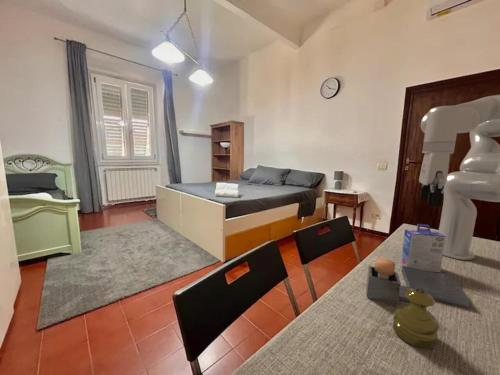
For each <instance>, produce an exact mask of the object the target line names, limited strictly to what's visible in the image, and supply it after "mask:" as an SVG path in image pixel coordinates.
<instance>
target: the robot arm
mask: <svg viewBox="0 0 500 375" xmlns="http://www.w3.org/2000/svg"><path fill="white" fill-rule="evenodd" d="M420 128H421V131H422V132H423V133H424V137H423V138H424V139H423V146H422V152H421V153H422V154H424V156H423V158H422V163H421V166H420V167H421V168H420V173H419V177H418V178H419V179H418V182H419V183H420V184H421V188H420V196H419V200H421V201H427V202H426V203H427V206H430V207H431V206H432V207H440V208H441V207H442V209H441V214H440V215H441V216H440V222H439V226H438V233H440V234H442V235H444V236H445V237H446V239H445V245H444V251H443V256H445V257H448V258H452V259H455V260H461V261H462V260H463V261H470V260H471V261H472V260H474V259H475V258H476V257H475V254H474V252H471V251H470V250H471V246H472V239H473V236H474V229H475V226H476V219H477V216H478V211H477V207H476V205H475V204H474V202H473V201H472V200H479V201H485V202H490V203H491V202H493V203H500V143H498V142H497V141H496V140H495V139H493V137H500V94H496V95H488V96H484V97H481V98H478V99H475V100H472V101H467V102H463V103H458V104H456V105H442V106H441V105H440V106H436V107H432V108H431V109H430V110H428V112H427V113H425V115H424V116H423V117H422V118H421V121H420ZM464 133H465V134H466V133H469V142H470V149H469V151H468V152H467V154H466V155H465V157H464V158H463V160H462V161H461V163H460V165H459V171H453V172H450V173H449V168H450V156H451V155H452V154H454V152H455V147H456V141H457V140H456V139H457V137H458V136H457V135H458V134H464ZM442 204H443V205H442Z"/></svg>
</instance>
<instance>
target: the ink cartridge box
mask: <svg viewBox="0 0 500 375" xmlns="http://www.w3.org/2000/svg"><path fill="white" fill-rule="evenodd" d="M420 227H424V228H420ZM445 239H446V237H445V236H444V235H442V234H440V233H439V231H433V230H431V227H430V225H429V224H423V223H417V224H416V229H408V228H407V229H406V228H405V229H404V234H403V242H402V243H403V244H402V250H401V253H402V254H401V264H402V266H407V267H412V268H417V269H422V270H427V271H431V272H436V273H441V271H442V270H441V269H442V262H443V256H444V255H443V251H444V245H445Z"/></svg>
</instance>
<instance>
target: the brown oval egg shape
mask: <svg viewBox="0 0 500 375" xmlns="http://www.w3.org/2000/svg"><path fill="white" fill-rule="evenodd" d="M374 262H375V263H374V267H375V268H374V269H375V270H376V271H377V272H378V278H382V279H386V280H388V279H389V275H393V274H394V271H395V268H396V263H395V262H394V261H393V260H391V259H389V258H384V257H377V258H375V260H374Z"/></svg>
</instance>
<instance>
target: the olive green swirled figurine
mask: <svg viewBox="0 0 500 375" xmlns="http://www.w3.org/2000/svg"><path fill="white" fill-rule="evenodd" d="M404 294H405V296H406V297H407V298H408V299H409V300H410V303H409V302H406V303H400V304H398V305H397V306H395V307H394V316H393V317H392V318H393V319H392V321H393V323H392V329H393V331H394V333H395V334H396V335H397V337H399V338H400V339H401V340H403V341H404V342H406V343H407V344H409V345H411V346H413V347H416V348H418V349H423V350H429V349H433V348H435V346H436V344H437V338H438V336H439V335H438V332H439V329H440V323H439V322H438V320H437V318H436V317H435V316H434V315H433V314H432V313H431V312H430V311H429V310H428V309H427V308H428V307H432V306H435V304H436V300H434V298H433V297H432V296H431V295H429V294H428V293H426V292H425V291H423V290H421V289H415V288H409V289H406V290H405V292H404Z"/></svg>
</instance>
